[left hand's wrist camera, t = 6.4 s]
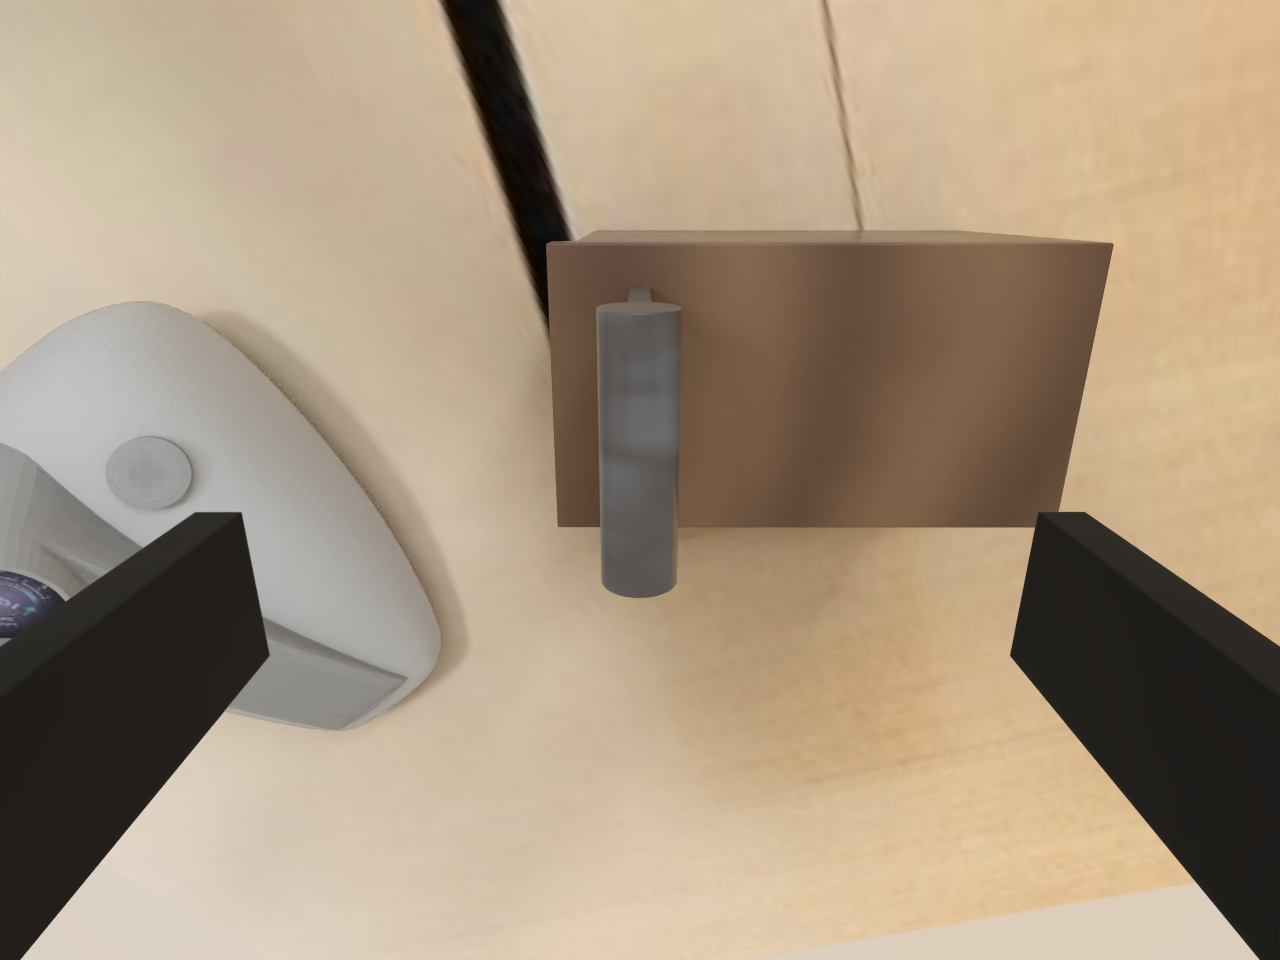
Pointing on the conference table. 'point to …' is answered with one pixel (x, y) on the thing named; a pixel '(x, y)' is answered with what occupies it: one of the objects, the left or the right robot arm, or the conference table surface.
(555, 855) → the conference table surface
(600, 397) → the lid
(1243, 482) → the conference table surface
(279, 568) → the projector
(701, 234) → the chest
